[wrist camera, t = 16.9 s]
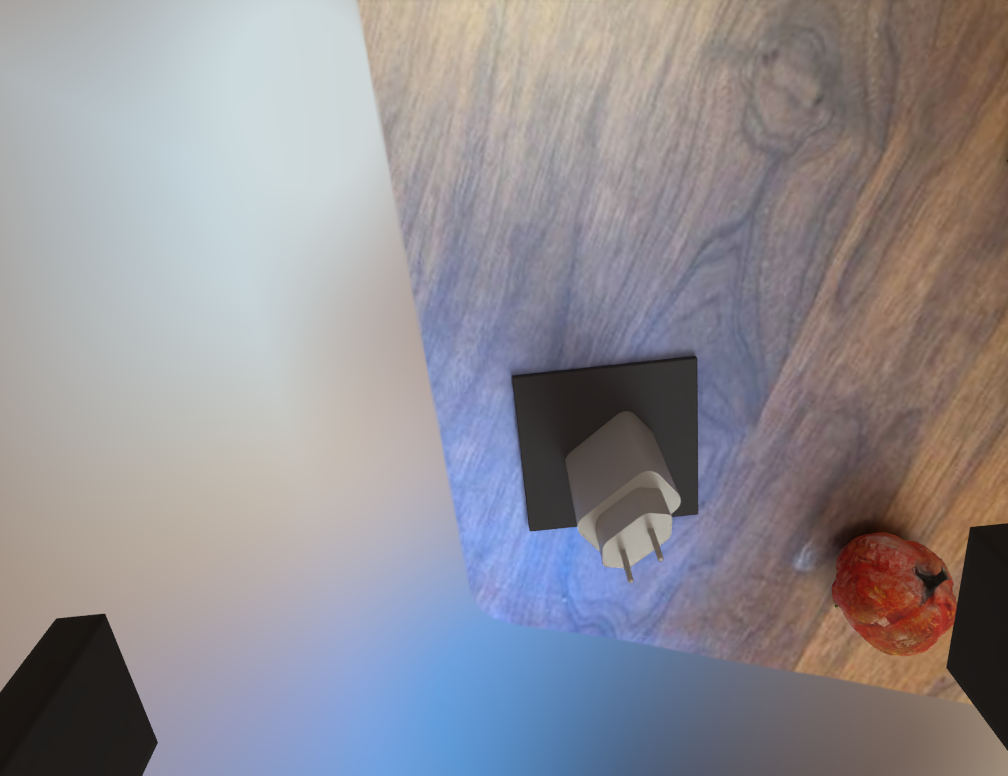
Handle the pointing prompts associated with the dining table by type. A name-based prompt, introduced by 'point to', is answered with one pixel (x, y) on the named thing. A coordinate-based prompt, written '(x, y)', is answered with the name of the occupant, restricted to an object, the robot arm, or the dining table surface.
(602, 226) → the dining table surface
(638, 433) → the power adapter
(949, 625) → the pomegranate
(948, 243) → the dining table surface
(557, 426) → the mat
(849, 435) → the dining table surface
